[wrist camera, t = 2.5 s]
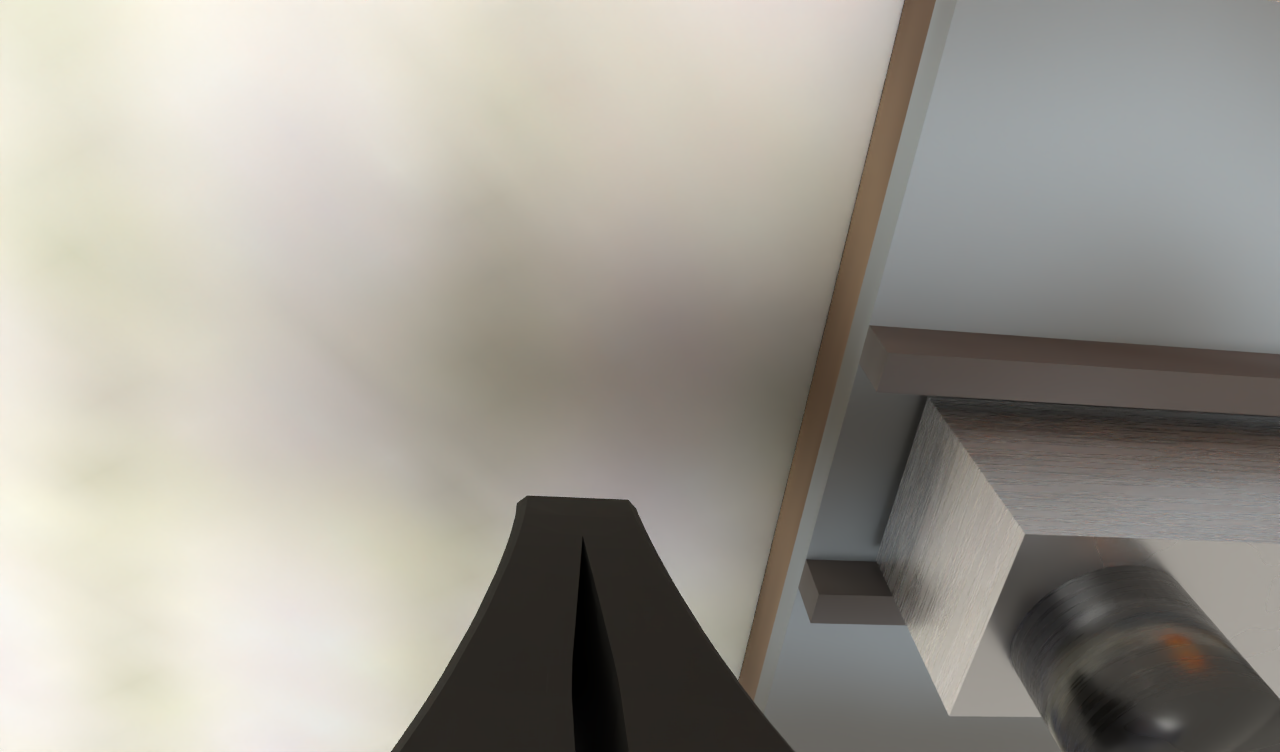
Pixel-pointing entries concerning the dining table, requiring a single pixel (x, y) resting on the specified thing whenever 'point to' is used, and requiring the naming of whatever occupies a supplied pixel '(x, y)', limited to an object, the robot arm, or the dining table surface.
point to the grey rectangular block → (1095, 571)
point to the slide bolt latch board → (1018, 302)
